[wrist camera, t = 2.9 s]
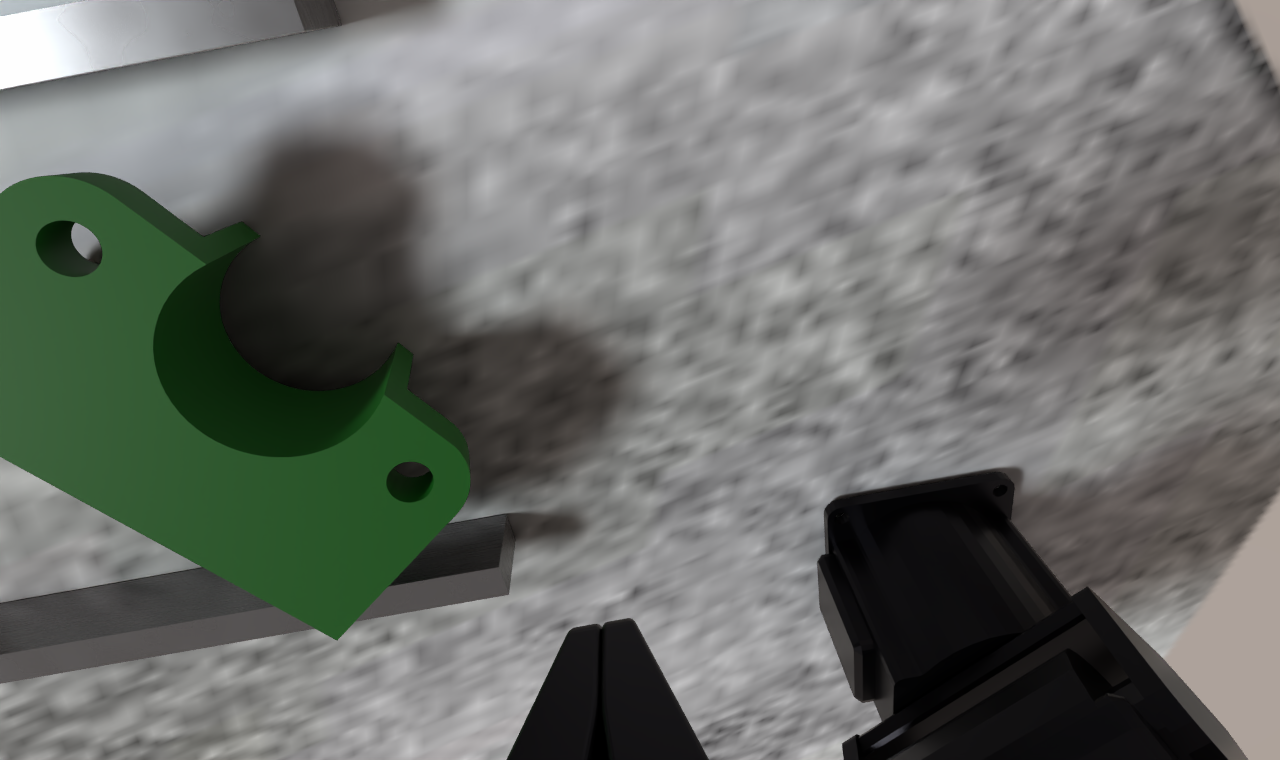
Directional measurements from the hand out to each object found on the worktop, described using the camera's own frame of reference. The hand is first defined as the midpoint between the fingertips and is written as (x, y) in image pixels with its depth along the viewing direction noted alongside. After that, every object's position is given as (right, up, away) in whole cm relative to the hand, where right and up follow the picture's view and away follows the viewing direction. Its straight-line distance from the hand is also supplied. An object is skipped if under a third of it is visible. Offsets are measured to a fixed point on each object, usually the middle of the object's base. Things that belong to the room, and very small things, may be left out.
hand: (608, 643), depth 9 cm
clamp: (-10, +5, +11) cm, 16 cm away
